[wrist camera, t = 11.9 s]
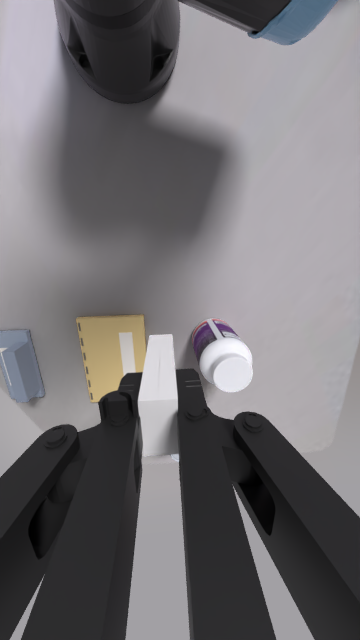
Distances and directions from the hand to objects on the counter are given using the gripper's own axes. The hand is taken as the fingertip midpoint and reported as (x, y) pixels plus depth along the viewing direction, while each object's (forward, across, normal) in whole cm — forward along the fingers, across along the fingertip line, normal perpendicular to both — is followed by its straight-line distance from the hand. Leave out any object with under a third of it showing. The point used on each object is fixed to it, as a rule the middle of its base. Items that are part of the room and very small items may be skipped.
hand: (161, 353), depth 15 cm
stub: (+26, -28, -14) cm, 41 cm away
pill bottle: (+27, +9, -10) cm, 30 cm away
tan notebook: (+26, -10, -14) cm, 32 cm away
